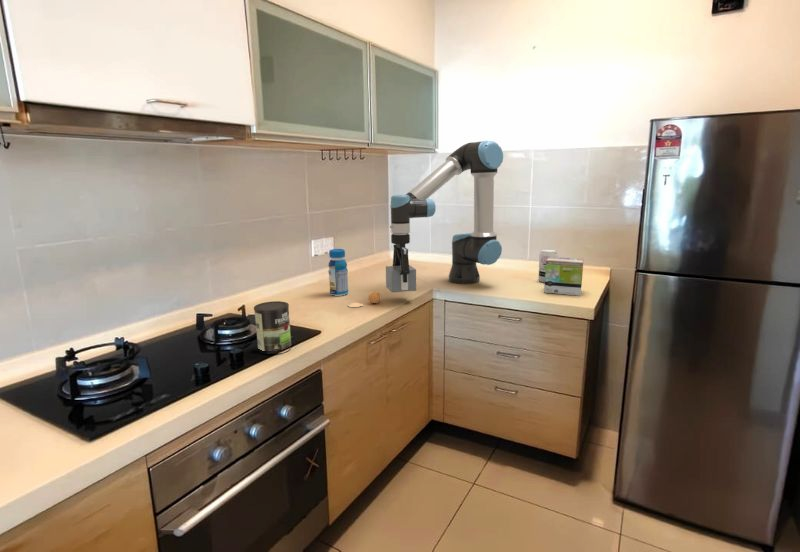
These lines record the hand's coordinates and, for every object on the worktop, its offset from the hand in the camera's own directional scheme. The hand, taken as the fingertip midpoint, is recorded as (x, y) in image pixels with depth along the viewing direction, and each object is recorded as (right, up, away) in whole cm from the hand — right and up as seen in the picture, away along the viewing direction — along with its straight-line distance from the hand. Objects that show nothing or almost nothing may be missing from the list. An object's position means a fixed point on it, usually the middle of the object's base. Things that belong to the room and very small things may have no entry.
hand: (401, 286), depth 192 cm
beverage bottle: (-28, -4, +15) cm, 31 cm away
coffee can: (-39, -18, -48) cm, 65 cm away
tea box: (+71, -3, +10) cm, 71 cm away
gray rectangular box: (0, -1, 0) cm, 1 cm away
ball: (-11, -4, -2) cm, 12 cm away
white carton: (+70, +2, +28) cm, 76 cm away
